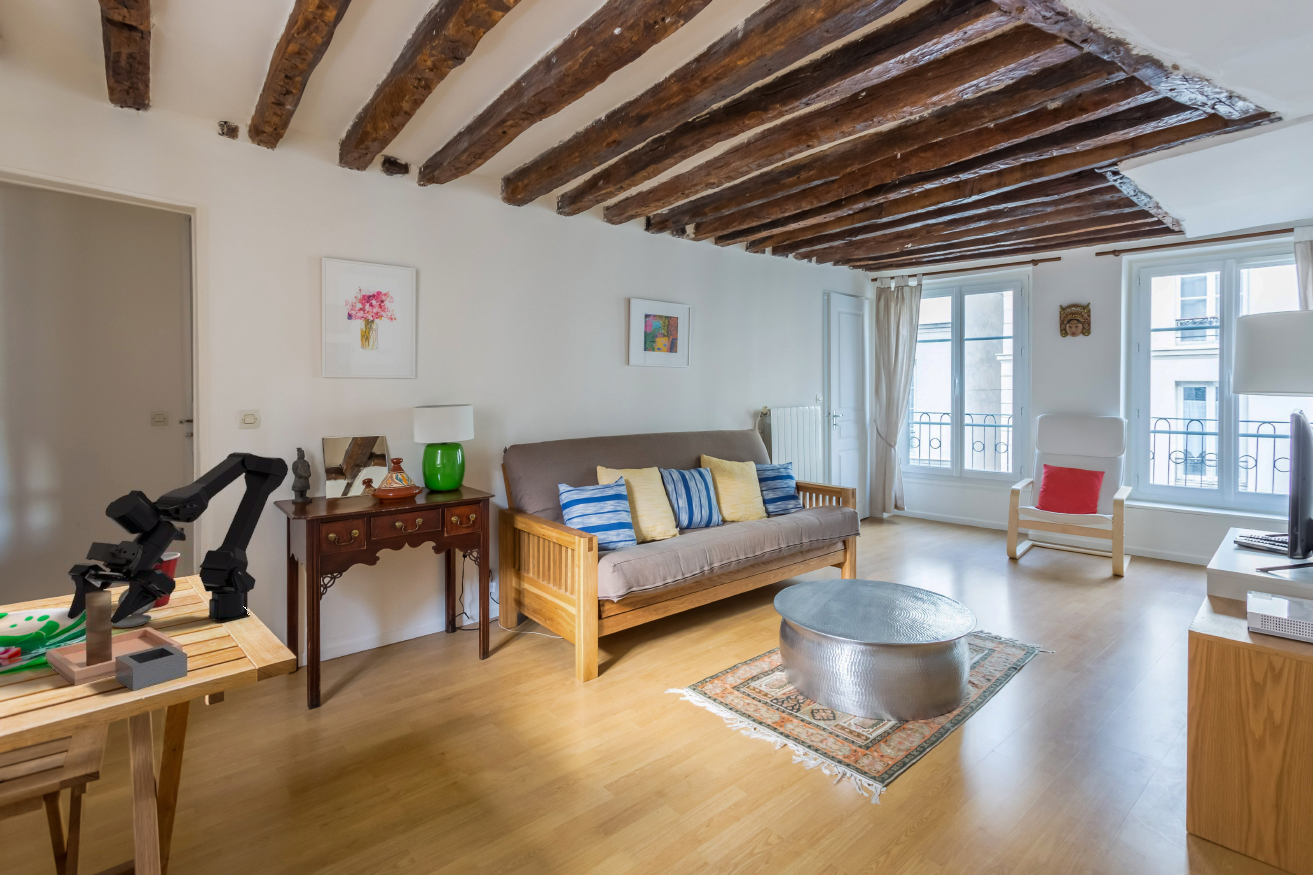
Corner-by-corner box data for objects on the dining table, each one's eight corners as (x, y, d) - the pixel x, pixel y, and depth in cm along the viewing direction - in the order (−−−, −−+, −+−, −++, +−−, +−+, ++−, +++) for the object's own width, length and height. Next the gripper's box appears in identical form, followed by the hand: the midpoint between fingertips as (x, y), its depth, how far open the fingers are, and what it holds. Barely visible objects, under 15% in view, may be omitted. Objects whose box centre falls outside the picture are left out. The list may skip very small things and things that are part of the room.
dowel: (113, 657, 121) (112, 589, 120) (110, 663, 118) (110, 593, 117) (87, 661, 119) (87, 591, 118) (84, 667, 116) (83, 596, 115)
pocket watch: (119, 631, 137) (119, 585, 136) (104, 623, 141) (103, 578, 141) (164, 621, 144) (164, 577, 143) (148, 613, 148) (148, 571, 148)
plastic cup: (153, 596, 160) (153, 549, 160) (191, 599, 159) (191, 552, 158) (111, 610, 150) (110, 559, 149) (151, 613, 148) (151, 562, 148)
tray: (149, 638, 133) (149, 626, 133) (182, 657, 124) (182, 644, 124) (46, 663, 120) (45, 649, 120) (75, 685, 111) (74, 671, 111)
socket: (168, 664, 121) (168, 643, 121) (187, 675, 116) (187, 653, 116) (115, 678, 114) (115, 656, 114) (133, 690, 110) (132, 668, 110)
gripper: (77, 521, 123) (12, 594, 112) (161, 527, 120) (102, 602, 109) (118, 552, 131) (61, 623, 120) (198, 559, 128) (146, 632, 117)
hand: (91, 620), depth 117 cm, fingers open, 9 cm apart
